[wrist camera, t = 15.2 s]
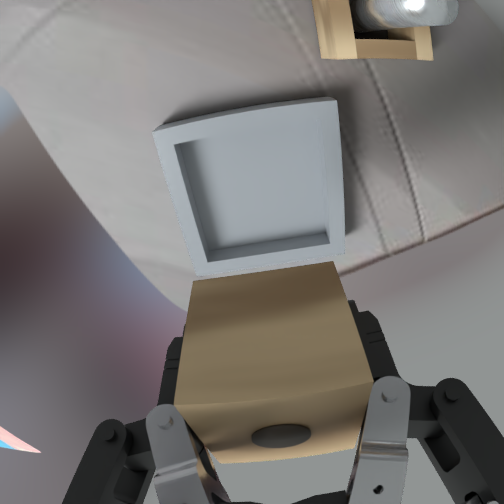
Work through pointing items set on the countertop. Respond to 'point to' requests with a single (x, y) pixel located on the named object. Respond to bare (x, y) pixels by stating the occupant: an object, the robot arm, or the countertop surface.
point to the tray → (257, 184)
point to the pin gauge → (401, 13)
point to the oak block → (347, 47)
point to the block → (273, 365)
